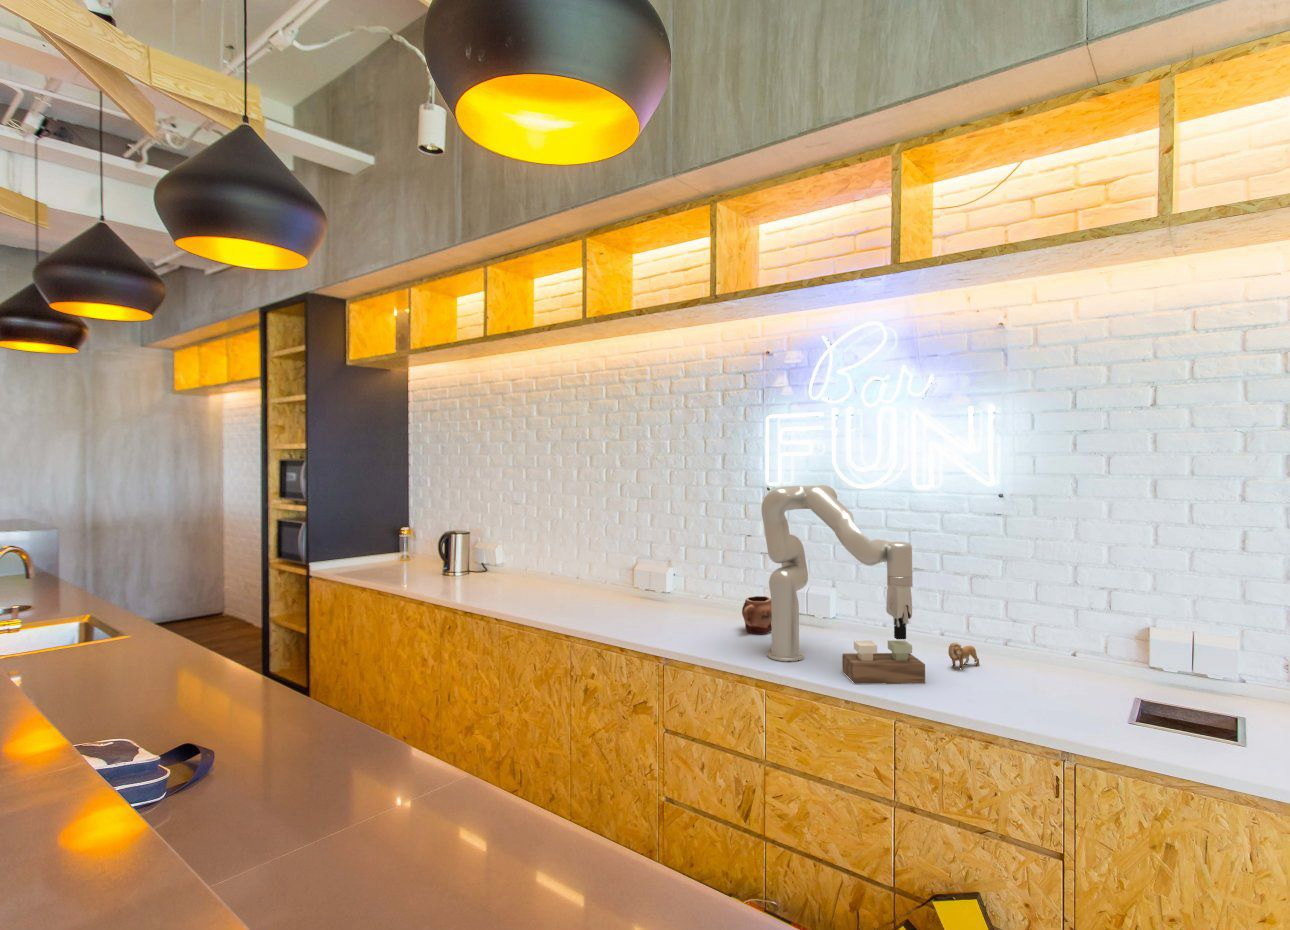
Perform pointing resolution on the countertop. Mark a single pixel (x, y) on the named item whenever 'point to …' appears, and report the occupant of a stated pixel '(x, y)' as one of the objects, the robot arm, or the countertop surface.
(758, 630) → the decorative planter
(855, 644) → the cream block
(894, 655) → the pale green block
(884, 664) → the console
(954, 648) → the lion figurine
